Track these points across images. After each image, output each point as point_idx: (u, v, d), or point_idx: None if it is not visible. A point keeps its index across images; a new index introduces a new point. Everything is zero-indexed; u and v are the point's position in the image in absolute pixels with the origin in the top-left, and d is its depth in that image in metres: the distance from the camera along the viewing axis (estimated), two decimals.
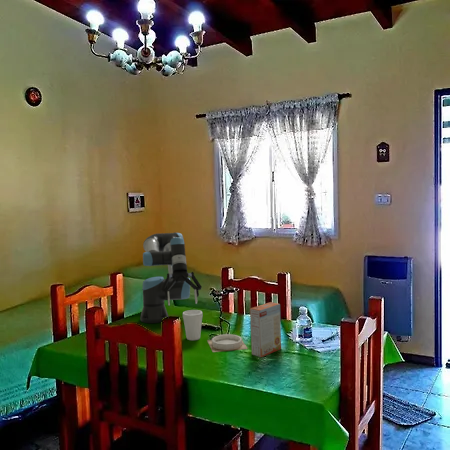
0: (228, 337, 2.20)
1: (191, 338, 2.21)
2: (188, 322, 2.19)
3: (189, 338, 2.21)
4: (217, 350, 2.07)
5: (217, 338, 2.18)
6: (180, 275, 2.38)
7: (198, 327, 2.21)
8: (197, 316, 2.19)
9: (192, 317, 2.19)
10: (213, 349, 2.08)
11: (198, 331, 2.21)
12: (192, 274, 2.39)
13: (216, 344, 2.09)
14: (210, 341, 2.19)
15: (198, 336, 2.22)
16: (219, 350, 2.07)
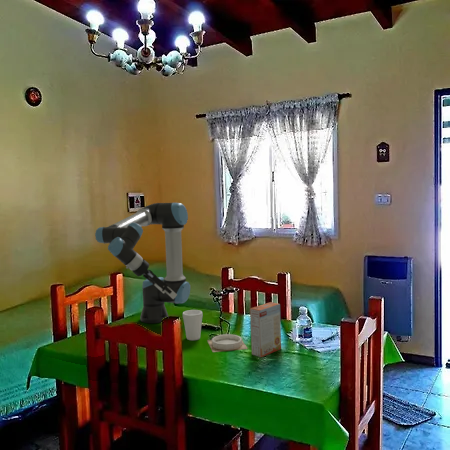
0: (228, 337, 2.20)
1: (191, 338, 2.21)
2: (188, 322, 2.19)
3: (189, 338, 2.21)
4: (217, 350, 2.07)
5: (217, 338, 2.18)
6: (146, 275, 2.11)
7: (198, 327, 2.21)
8: (197, 316, 2.19)
9: (192, 317, 2.19)
10: (213, 349, 2.08)
11: (198, 331, 2.21)
12: (149, 277, 2.06)
13: (216, 344, 2.09)
14: (210, 341, 2.19)
15: (198, 336, 2.22)
16: (219, 350, 2.07)
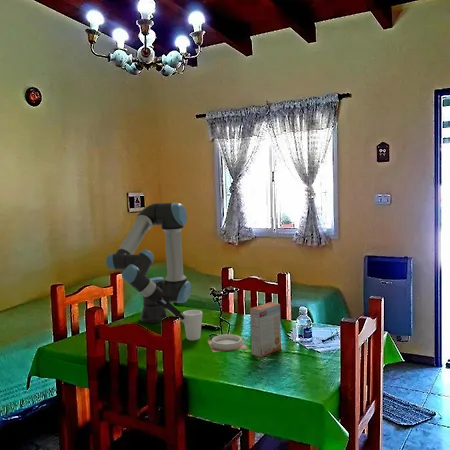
0: (228, 337, 2.20)
1: (191, 338, 2.21)
2: (188, 322, 2.19)
3: (189, 338, 2.21)
4: (217, 350, 2.07)
5: (217, 338, 2.18)
6: (159, 301, 2.14)
7: (198, 327, 2.21)
8: (197, 316, 2.19)
9: (192, 317, 2.19)
10: (213, 349, 2.08)
11: (198, 331, 2.21)
12: (162, 304, 2.09)
13: (216, 344, 2.09)
14: (210, 341, 2.19)
15: (198, 336, 2.22)
16: (219, 350, 2.07)
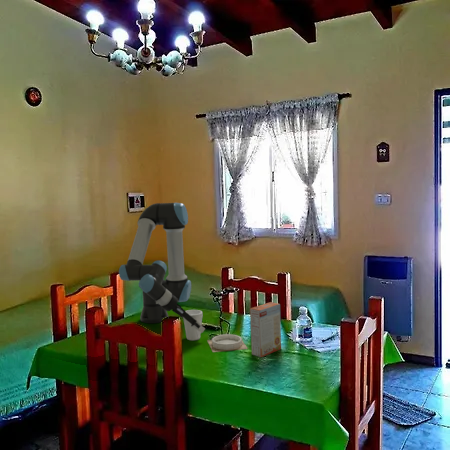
0: (228, 337, 2.20)
1: (191, 338, 2.21)
2: (188, 322, 2.19)
3: (189, 338, 2.21)
4: (217, 350, 2.07)
5: (217, 338, 2.18)
6: None
7: None
8: (197, 316, 2.19)
9: (192, 317, 2.19)
10: (213, 349, 2.08)
11: (198, 331, 2.21)
12: (179, 313, 2.14)
13: (216, 344, 2.09)
14: (210, 341, 2.19)
15: (198, 336, 2.22)
16: (219, 350, 2.07)
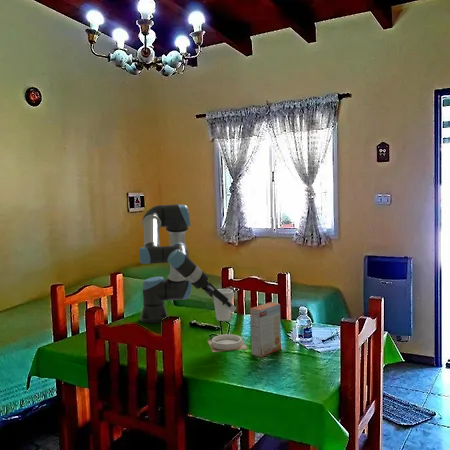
0: (228, 337, 2.20)
1: (221, 318, 2.09)
2: (219, 300, 2.08)
3: (219, 318, 2.10)
4: (217, 350, 2.07)
5: (217, 338, 2.18)
6: (204, 287, 2.08)
7: None
8: (228, 294, 2.08)
9: None
10: (213, 349, 2.08)
11: (229, 310, 2.10)
12: (210, 291, 2.03)
13: (216, 344, 2.09)
14: (210, 341, 2.19)
15: (229, 316, 2.11)
16: (219, 350, 2.07)
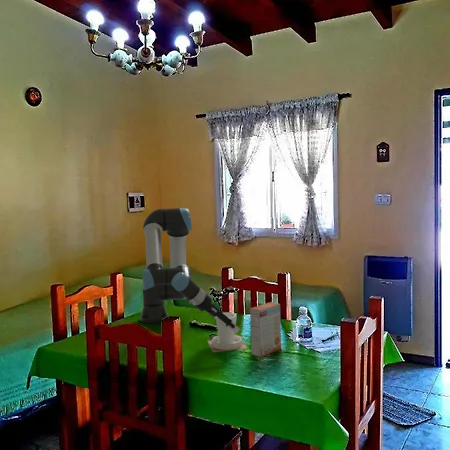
0: None
1: (225, 342, 2.11)
2: (222, 325, 2.09)
3: (222, 342, 2.11)
4: (217, 350, 2.07)
5: (217, 338, 2.18)
6: (208, 309, 2.09)
7: (232, 331, 2.11)
8: (231, 319, 2.09)
9: None
10: (213, 349, 2.08)
11: (232, 335, 2.11)
12: (213, 313, 2.03)
13: (216, 344, 2.09)
14: (210, 341, 2.19)
15: (232, 340, 2.12)
16: (219, 350, 2.07)
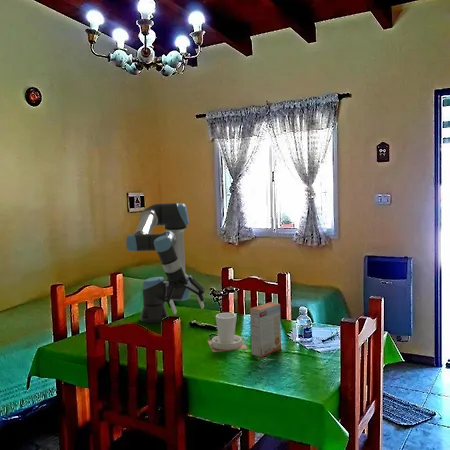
0: None
1: (225, 342, 2.11)
2: (222, 325, 2.09)
3: (222, 342, 2.11)
4: (217, 350, 2.07)
5: (217, 338, 2.18)
6: (177, 283, 2.06)
7: (232, 331, 2.11)
8: (231, 319, 2.09)
9: (226, 320, 2.08)
10: (213, 349, 2.08)
11: (232, 335, 2.11)
12: (190, 280, 2.04)
13: (216, 344, 2.09)
14: (210, 341, 2.19)
15: (232, 340, 2.12)
16: (219, 350, 2.07)
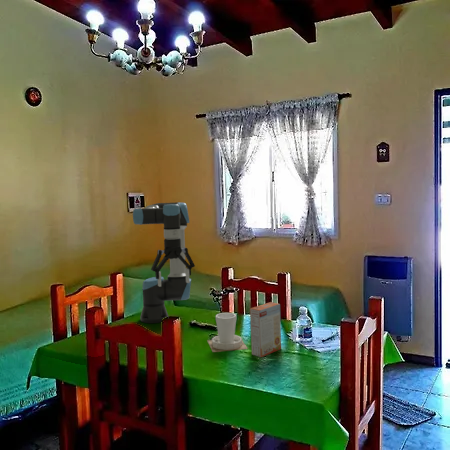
0: None
1: (225, 342, 2.11)
2: (222, 325, 2.09)
3: (222, 342, 2.11)
4: (217, 350, 2.07)
5: (217, 338, 2.18)
6: (173, 252, 2.11)
7: (232, 331, 2.11)
8: (231, 319, 2.09)
9: (226, 320, 2.08)
10: (213, 349, 2.08)
11: (232, 335, 2.11)
12: (186, 251, 2.13)
13: (216, 344, 2.09)
14: (210, 341, 2.19)
15: (232, 340, 2.12)
16: (219, 350, 2.07)
